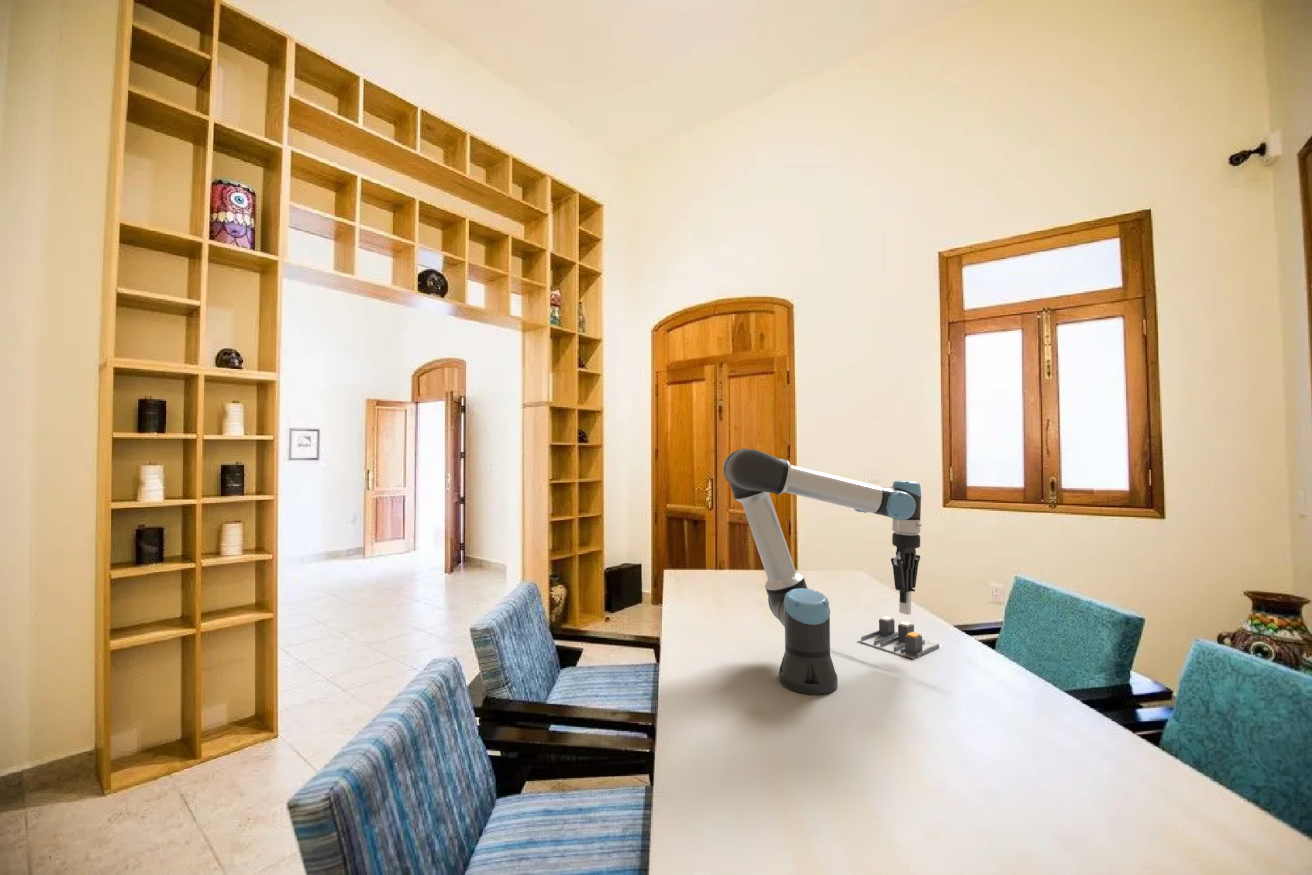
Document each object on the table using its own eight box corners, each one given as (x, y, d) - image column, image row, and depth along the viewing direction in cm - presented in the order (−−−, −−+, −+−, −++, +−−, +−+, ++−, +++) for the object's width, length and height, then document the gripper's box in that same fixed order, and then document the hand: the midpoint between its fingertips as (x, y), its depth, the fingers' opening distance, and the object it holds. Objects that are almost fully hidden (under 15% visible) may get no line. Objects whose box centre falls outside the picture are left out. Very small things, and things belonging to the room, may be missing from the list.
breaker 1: (887, 637, 169) (887, 620, 169) (879, 635, 172) (878, 617, 172) (894, 635, 171) (894, 617, 172) (886, 632, 174) (885, 615, 174)
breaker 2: (907, 643, 164) (907, 625, 164) (898, 640, 166) (898, 623, 166) (914, 640, 166) (913, 623, 166) (905, 638, 169) (904, 620, 169)
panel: (908, 668, 148) (908, 660, 148) (846, 647, 164) (846, 640, 164) (953, 647, 163) (952, 640, 163) (891, 630, 180) (891, 623, 180)
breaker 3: (915, 656, 154) (915, 636, 154) (905, 652, 157) (905, 633, 157) (922, 652, 156) (922, 633, 157) (912, 649, 159) (912, 631, 159)
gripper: (907, 536, 149) (906, 620, 148) (929, 533, 157) (928, 612, 156) (882, 533, 155) (881, 613, 154) (904, 529, 163) (903, 606, 162)
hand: (905, 613), depth 155 cm, fingers closed
